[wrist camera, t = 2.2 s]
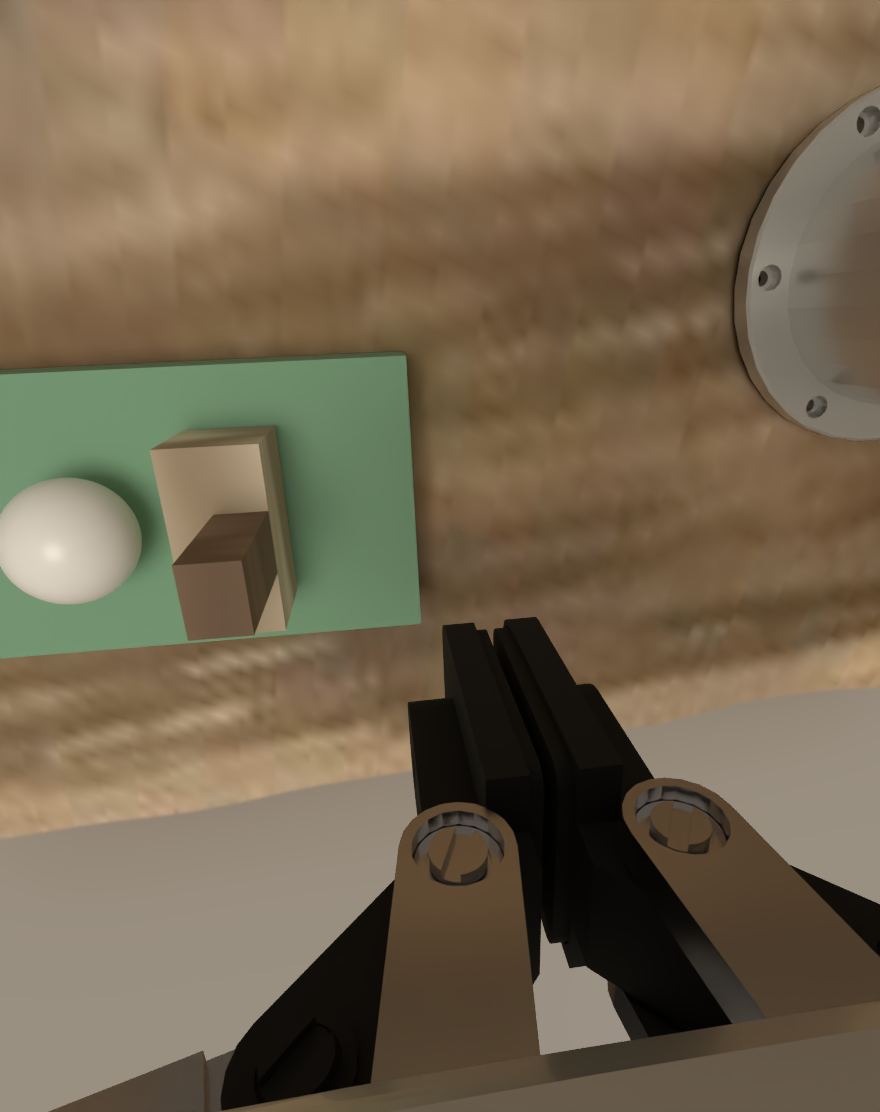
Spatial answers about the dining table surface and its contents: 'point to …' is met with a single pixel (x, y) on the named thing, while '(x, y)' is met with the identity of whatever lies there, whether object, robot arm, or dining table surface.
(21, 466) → the putting green
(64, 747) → the dining table surface
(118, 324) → the dining table surface
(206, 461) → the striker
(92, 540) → the golf ball
